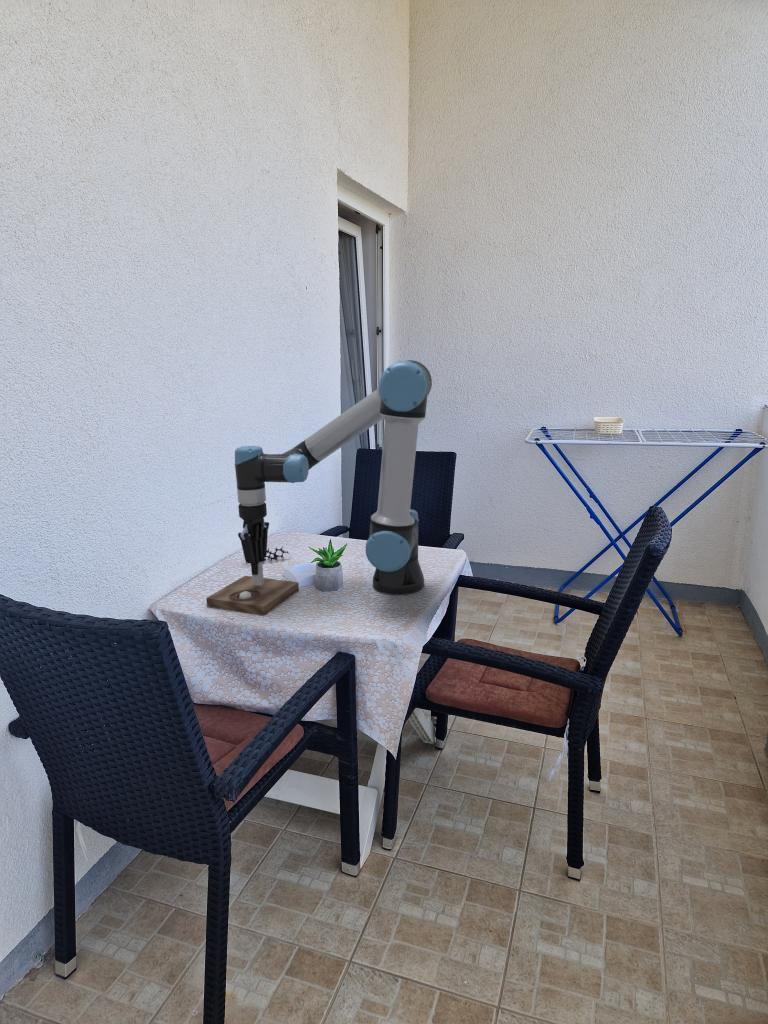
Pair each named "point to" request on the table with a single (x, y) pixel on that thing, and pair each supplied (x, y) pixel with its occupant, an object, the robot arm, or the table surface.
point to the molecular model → (275, 554)
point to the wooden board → (253, 595)
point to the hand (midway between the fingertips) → (258, 584)
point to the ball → (245, 595)
